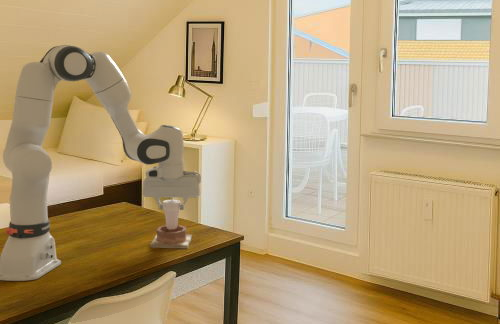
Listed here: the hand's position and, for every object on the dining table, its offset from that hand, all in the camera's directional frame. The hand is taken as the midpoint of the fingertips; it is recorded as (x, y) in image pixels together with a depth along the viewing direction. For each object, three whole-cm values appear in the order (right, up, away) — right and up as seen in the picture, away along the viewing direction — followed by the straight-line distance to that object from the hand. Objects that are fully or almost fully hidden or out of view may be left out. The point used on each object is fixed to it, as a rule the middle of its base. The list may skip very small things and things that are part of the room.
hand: (171, 209), depth 219 cm
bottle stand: (0, -12, +2) cm, 12 cm away
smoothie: (0, -7, +1) cm, 7 cm away
